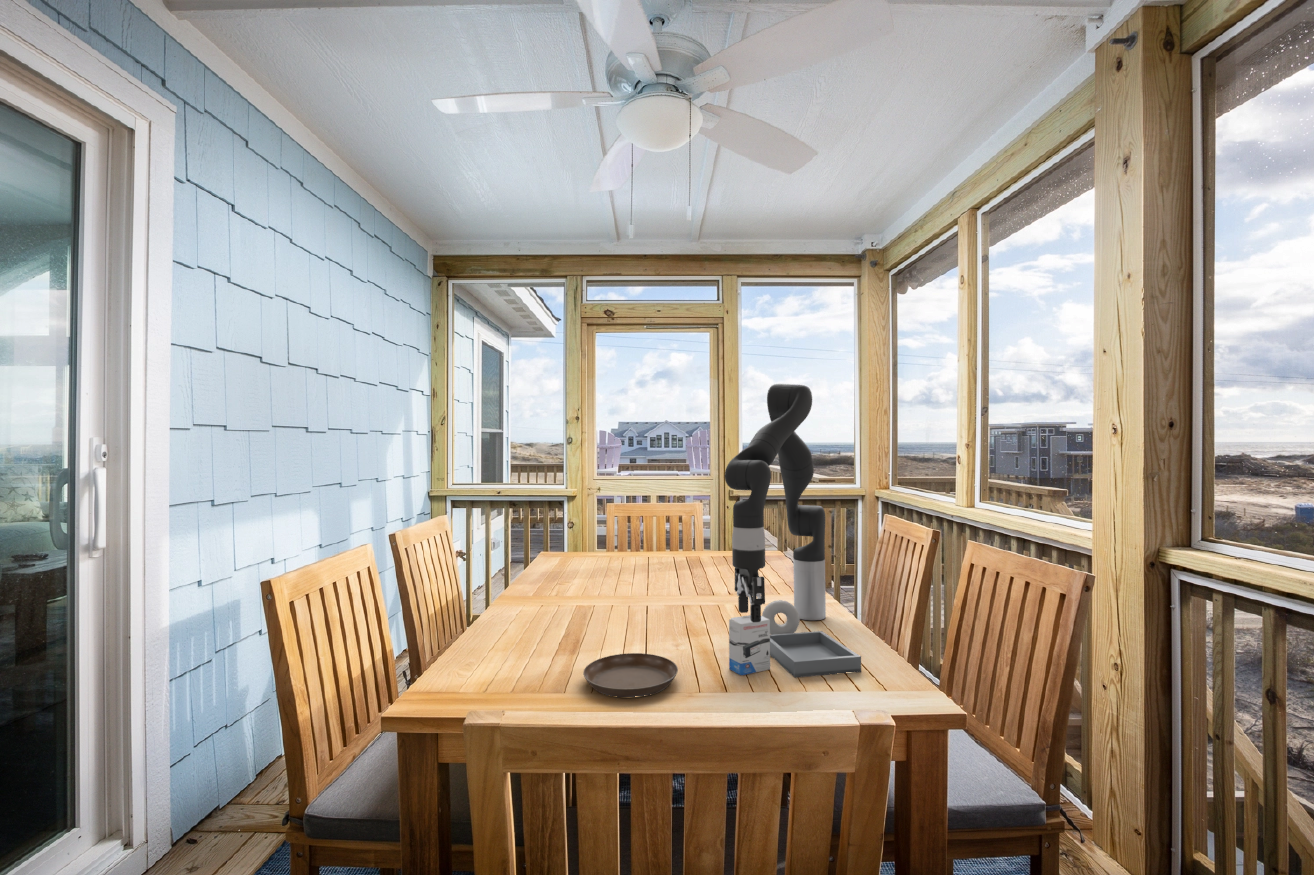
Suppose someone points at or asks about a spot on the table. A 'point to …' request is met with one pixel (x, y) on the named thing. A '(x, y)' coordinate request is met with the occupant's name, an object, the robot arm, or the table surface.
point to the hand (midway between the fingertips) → (749, 616)
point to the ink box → (749, 645)
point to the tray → (812, 654)
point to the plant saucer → (630, 674)
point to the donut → (786, 609)
